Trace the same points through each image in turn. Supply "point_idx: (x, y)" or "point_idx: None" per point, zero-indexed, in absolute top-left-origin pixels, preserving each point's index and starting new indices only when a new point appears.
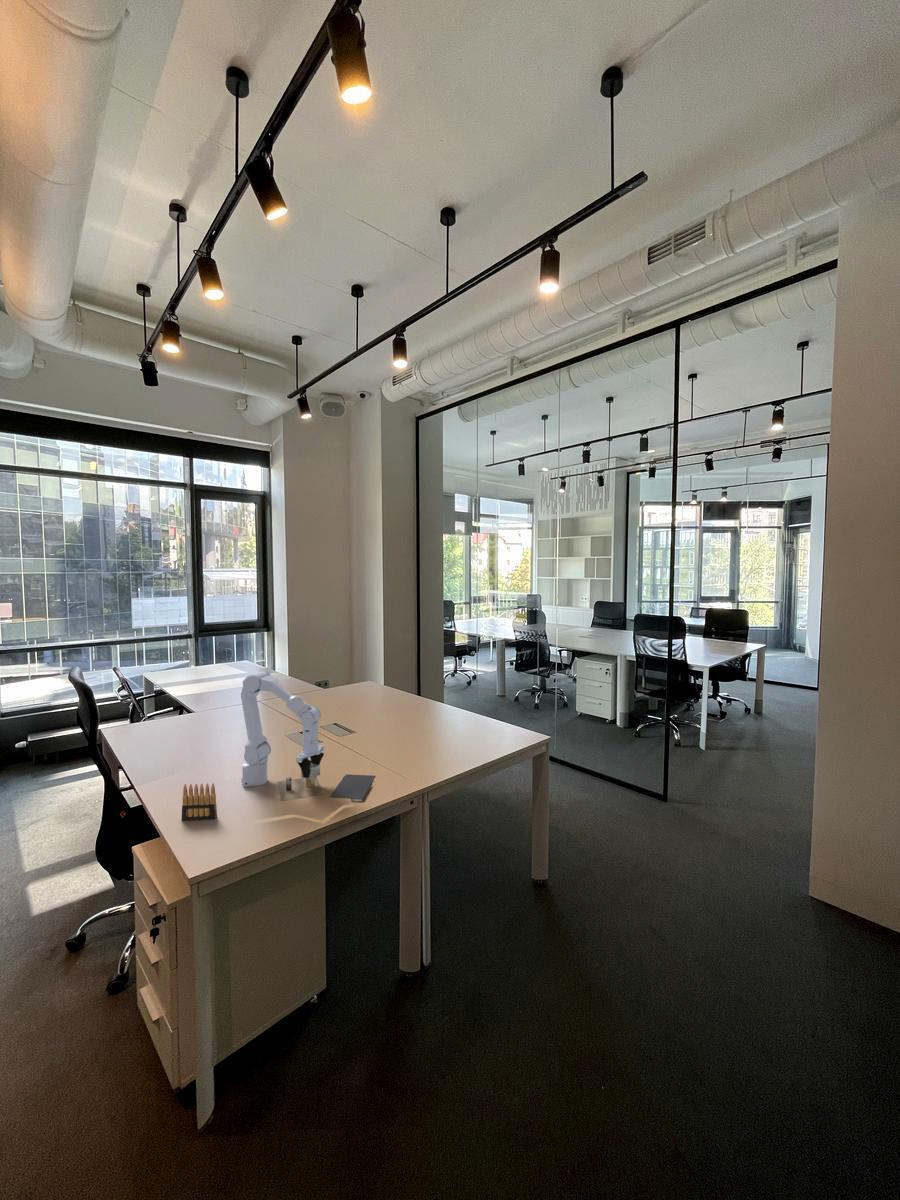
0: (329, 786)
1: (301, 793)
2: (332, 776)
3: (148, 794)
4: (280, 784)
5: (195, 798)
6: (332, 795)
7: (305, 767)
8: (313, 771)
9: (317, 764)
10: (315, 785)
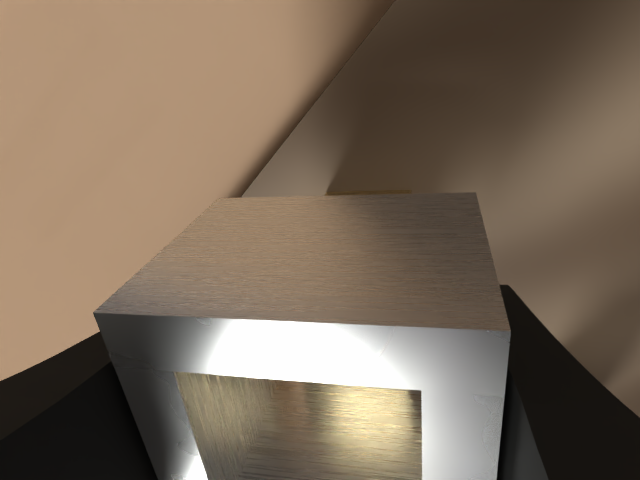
0: (202, 41)
1: (629, 194)
2: (20, 197)
3: None
4: None
5: None
6: None
7: None
8: (424, 269)
9: (138, 372)
10: (323, 186)
